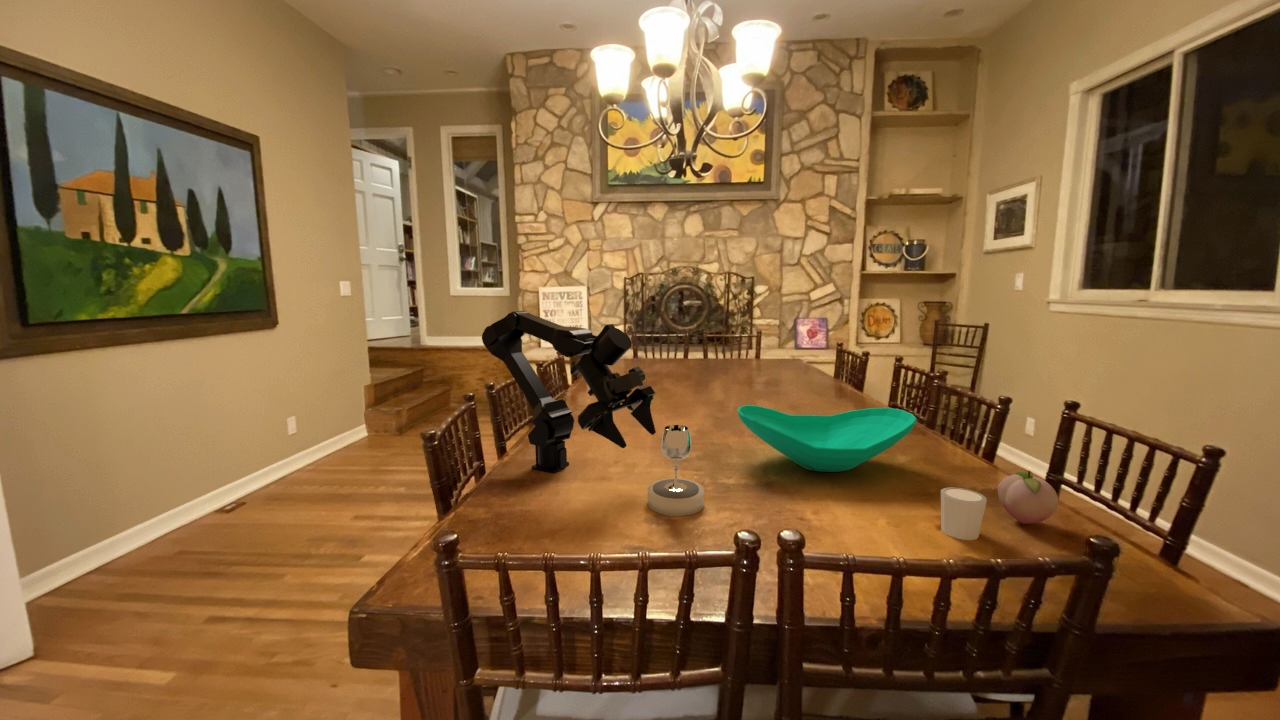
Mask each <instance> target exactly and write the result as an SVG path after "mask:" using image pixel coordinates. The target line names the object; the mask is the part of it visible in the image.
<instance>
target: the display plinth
mask: <svg viewBox="0 0 1280 720" xmlns="http://www.w3.org/2000/svg"><path fill="white" fill-rule="evenodd" d="M674 480H675V478H663V479H659V480H656V481H653V482H652V483H650V484H649V485H648V487H647V506H648V508H649V509H650V508H651V509H652V510H651V509H650V510H651V511H653V512H655V513H657V514H660V515H664V516H668V517H669V516H670V517H686V516H691V515H695V514H696V513H697V514H698V513H699V512H701V511H702V510H703V509H704V506H705V502H704V501H705V488H704V487H703V486H702V485H701V484H700V483H697V482H696V481H693V480H690V479H684V478H677V481H678V483H683V484H685V485H686V486H687V489H686V490H684V491H681V492H672V491H668V490H666V489H665V488H664V486H665V485H666V484H668V483H673V482H674Z"/></svg>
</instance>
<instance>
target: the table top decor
mask: <svg viewBox="0 0 1280 720" xmlns="http://www.w3.org/2000/svg"><path fill="white" fill-rule="evenodd" d="M736 411H737V414H738V418H739V419H740V421H741V422H742V423H743V424H744V425H745V426H746V428H747V429H749V431H750V432H751V433H753V434H754V435H756V437H758V438H759V439H760V440H762V441H763V442H764V443H765V444H767V445H769V446H771V447H772V448H773V449H774V450H776V451H777V452H779V453H780V454H782V455H784V457H786V458H788V459H789V460H791V461H792V462H794V463H796V464H797V465H799V466H800V467H801V468H804V469H806V470H810V471H813V472H820V473H821V472H822V473H825V472H826V473H832V472H833V473H836V472H837V473H842V472H846V471H849V470H851V469H852V470H853V469H854V468H856V467H858V466H859V465H862V464H863V463H865V462H867V461H868V460H871V459H873V458H874V457H877V456H879V455H880V454H882V453H884V452H885V451H887V450H888V449H890V448H891V447H893V446H894V445H896V444H897V443H898V442H900V441H901V440H902V439H903V438H905V437H906V436H908V435H909V434H910V433H911V431H913V429H914V426H915V424H916V423H917V420H918V418H917V417H916V416H915V415H914V414H913V413H910V412H908V411H906V410H904V409H898V408H892V407H870V408H869V407H868V408H860V409H855V410H853V409H852V410H849V411H845V412H841V413H836V414H832V415H831V414H830V415H822V414H821V415H817V414H816V415H815V414H814V415H813V414H788V413H785V412H782V411H779V410H775V409H773V408H770V407H769V408H768V407H764V406H759V405H755V404H754V405H753V404H752V405H751V404H745V405H741V406H739V407H738V408H737V410H736Z"/></svg>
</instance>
